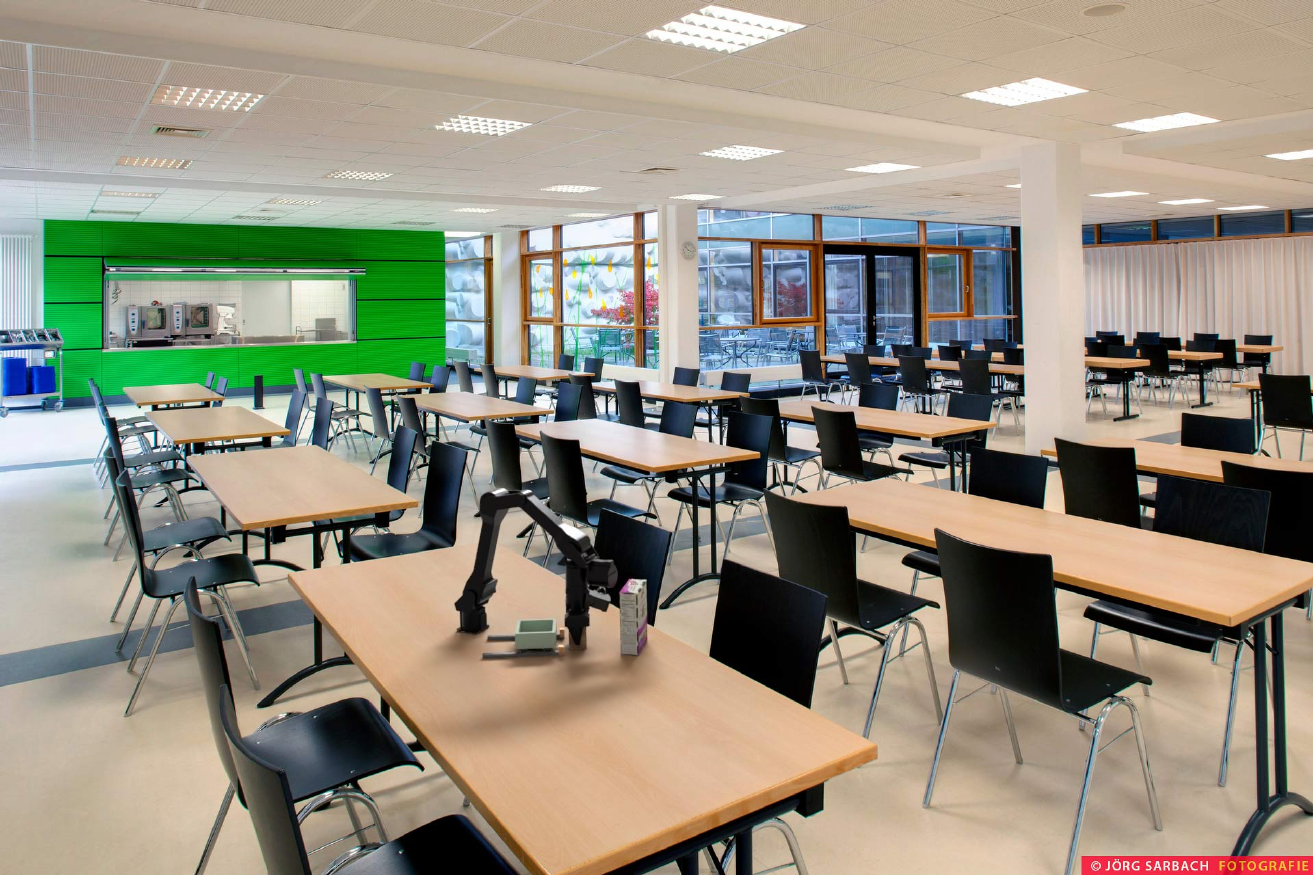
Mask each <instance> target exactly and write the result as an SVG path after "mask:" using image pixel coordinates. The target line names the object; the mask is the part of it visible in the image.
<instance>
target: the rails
mask: <svg viewBox="0 0 1313 875" xmlns="http://www.w3.org/2000/svg"><path fill="white" fill-rule="evenodd" d="M565 635H566V634H565V627H559V632H557V636H556V639H565V638H566V637H565ZM486 638H487V641H512V640H514V641H515V634H493V635H492V634H491V635H487V637H486ZM564 650H565V647H564V644H559V645H558V650H552V651H544V650H542V651H541V650H537V651H527V652H520V651H515V652H513V651H509V652H507V651H506V652H484V653H482V654H481V655H482V656H481V657H482V659H483V660H484V659H485V660H486V659H487V660H488V659H511V658H512V659H513V658H535V657H536V658H538V657H540V658H541V657H542V658H543V657H564V656H565V655H564V654H565V653H564V652H565V651H564Z"/></svg>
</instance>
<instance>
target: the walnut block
mask: <svg viewBox="0 0 1313 875" xmlns="http://www.w3.org/2000/svg"><path fill="white" fill-rule="evenodd" d="M587 641H588V640H587V627H584V628H583V632H582V637H581V642H580V645H575V643H574V641H573V638H572V636H571V634H570V632H569V631H568V650H580V649H582V650H583V649H585V650H586V649H587V648H588V647H587V645H588V644H587Z"/></svg>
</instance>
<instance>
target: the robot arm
mask: <svg viewBox="0 0 1313 875" xmlns="http://www.w3.org/2000/svg"><path fill="white" fill-rule="evenodd" d="M512 508H513V509H514V508H515V509H516V508H519V509H521V511H523V512H524V513H525V514H527V515H528V516H529V518H530V519H532V520H533V521H534V522H535V523H536V524H537V525H538V526H540V527H541V528H542V529H543V530H544V531H545V532H546V533H547V534H548V535H549V536H550V537H551V538H552V539H553V540H554V543H555V546H556V548H557V549H558V550H559V551H560V553H561V554H562V555H563V556H562V558H561V559H560V560H559V561H558V562H556V565H557V566H561V567H562V566H563V567H565V568H564V569H565V599H564V601H565V614H564V628H567V631H568V633H569V632H570V634H571V636H572V638H573V641H574V643H575V645H580V642H581V637H582V632H583V628H584V627H586V628H588V627H590V626H591V624H590V623H591V622H590V608H593V609H595V610H599V611H601V612H602V613H607V612H608V609H609V606H610V604H611V601H612V600H611V596H610V594H609V593H607V591H606V588H609V589H613V588H614V587H615V586H616V585H617V581H618V577H619V576H618V575H619V573H618V572H619V571H618V568H617V566H616V565H615V562H614V560H613V559H600V556H599V553H598V552H597V550H596V549H595V548H594V546H593V545H592V543H591V538H590V537H589V535H588V534H586V533H585V532H583V531H582V530H581V529H578V528H577V527H574V526H572V525H569V524H567V523H566V522H564V521H563V520H562V519H561V518H560V517H559V516H558V515H557V514H555V513H554V511H552V510H551V508H549V507H548V506H547V505H546V504H544V503H543V502H542V501H541V500H540V499H539V498H538V497H537V496H536V495H535V494H534V492H533V491H532V490H530V489H524V490H522V489H521V490H519V489H513V490H512V489H511V490H508V489H506V488H504V487H497V488H495V489H492V490H489V491H486V492H485V493H483V494H481V495H480V498H479V508H478V509H479V510H478V511H479V515H480V518H481V527H480V533H479V539H478V543H477V544H478V545H477V547H476V548H477V549H476V553H475V554H476V555H475V559H474V565H473V570H472V572H471V574H470V575H469V577H468V578H467V580H466V581H465V584H464V587H463V589H462V594H461V596H460V597H459V598H458V599H457V600H456V601H455V602H454V604H453V605H454V608H455V611H457V612H459V627H457V628H456V631H457V632H460V633H467V634H471V635H477V634H479V633H481V632H482V631H484V630H486V629H489V628H490V624H488V615H487V612H486V606H485V605H487V604H489V601H490V599H491V598H492V597H493V596H494V594H495V593H497V589H496V588H497V585H498V582H499V581H498V579H497V578H494V576H493V573H492V570H493V565H494V560H495V554H496V550H497V544H498V539H499V534H500V530H501V525H502V524H501V523H502V522H503V521H504V519H505V517H506V515H507V514H508V513H509V510H510V509H512ZM584 555H586V556H584ZM583 556H584V557H583ZM590 585H591V586H595V587H598V588H597V589H594V590H592V589H590Z"/></svg>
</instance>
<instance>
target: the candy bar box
mask: <svg viewBox="0 0 1313 875" xmlns="http://www.w3.org/2000/svg"><path fill="white" fill-rule="evenodd" d="M618 593H619V625H620V626H619V627H620V628H619V629H620V634H619V636H620V639H619V640H620V654H621V655H624V656H640V654H641V651H642V650H643V648H644V646H645V645H646V643H647V642H648V601H647V600H648V599H647V598H648V597H647V596H648V594H647V593H648V591H647V579H641V578H640V579H637V578H636V579H635V578H629V579H628V580H627V582H626V583H625V585H624V586H623V587H622V588H621V590H620V591H619V592H618Z"/></svg>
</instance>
